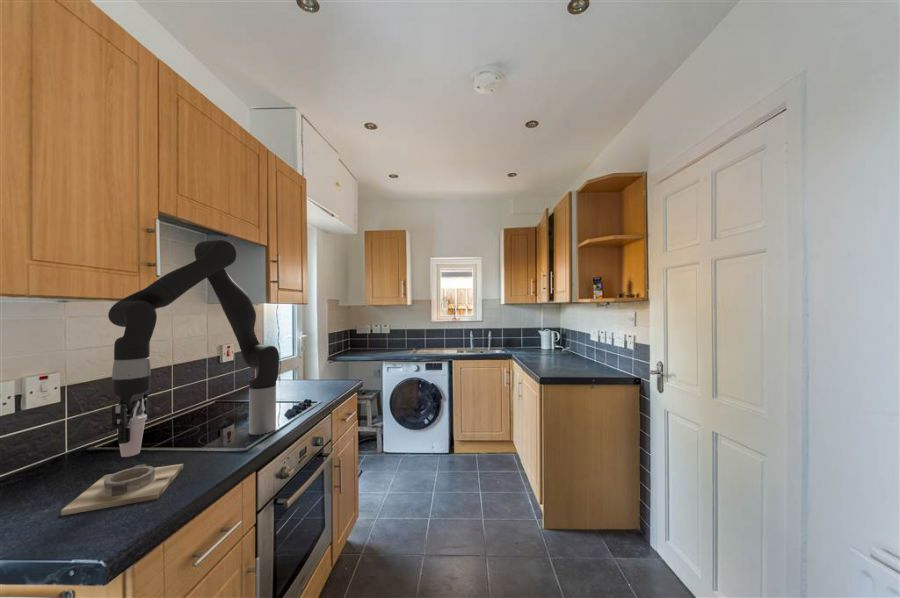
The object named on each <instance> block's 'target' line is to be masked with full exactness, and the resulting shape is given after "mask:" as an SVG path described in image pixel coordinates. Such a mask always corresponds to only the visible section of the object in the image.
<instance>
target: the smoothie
mask: <svg viewBox="0 0 900 598" xmlns="http://www.w3.org/2000/svg"><path fill="white" fill-rule="evenodd" d="M147 419H148V415H146V414H136V415H135V418H134V419H132V420H131V421H132V422H131V426H130V441H129V442H128V443H123V444H119V443H118V445H119V452H120V456H121V457H122V458H127V457H133V456H136V455H138V454H140V453H141V449H142V443H143V442H142V441H143V435H144V430H145V424H146V420H147ZM127 420H128V419H127ZM117 422H118V420H117ZM116 432H117V434H118V429H116Z"/></svg>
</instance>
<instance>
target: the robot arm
mask: <svg viewBox="0 0 900 598" xmlns="http://www.w3.org/2000/svg"><path fill="white" fill-rule="evenodd" d="M193 254H194V258H195V260H194V261H192V262H190V263H187V264H186V265H183V266H181V267H179V268H177V269H174V270H172V271H170V272H168V273H166V274H164V275H163V276H161V277H160V278H158V279H156V280H155V281H154V282H151V284H149V285H148V286H146V287H145V288H143V289H141V290H139V291H136V292H135V293H134V292H133V293H132V294H129V295H128V296H126V297H124V298H122V299H120V300H118V301H117V302H116V303H115V304H113V305H112V306H111V307H110V309H109V310H108V319H109V321H110V322H111V324H113V325H115V326H117V327H121V328H124V332H123V336H121V337H118V338H117V339H116V340H115V341H114V347H113V348H114V349H113V365H112V369H111V370H112V371H111V372H112V375H111V376H112V377H111V381H112V382H111V395H112V396H114V397H119V401H118V404H117V405H116V404H115V405H112V406H111V423H112V424H111V425H112V430H117V429H118V433H117V443H118V445H119V444H123V443H128V442H129V441H130V426H131V422H132V421H131V420H132V419H134V418H135V415H136V414H146V415H147V414H148V411H149V409H148V407H149V395H150V394H149V393H148V392H150V390H151V371H152V370H151V367H152V365H151V359H150V352H151V351H150V348H151V347H150V343H151V340H152V336H153V333H154V330H155V327H156V324H157V317H158V315H157V311H156V309H160V308H165V307H167V306H169V305H171V304H172V303H173V302H175V301H176V300H177V299H179V298H180V297H182V296H183V294H185V293H186V292H188V291H189V290H190V289H192V288H194V287H195V286H196V285H197V284H199V283H200V282H202V281H204V280H205V279H207V280H208V282H209V284H210V285H211V287H212V289H213V292H214V293H215V295H216V297H217V299H218V302H219V304H220V306H221V309H222V310H223V313H224V315H225V316H226V320H228V323H229V325H230V326H231V329H232V331H233V334H234V336H235V338H236V340H237V342H238V346H239V349H240V353H241V354H242V355H241V356H242V357H243V358H242V359H243V361H244V363H245V364H246V366H247V367H249V368H250V369H253V370H254V369H255V370H256V369H257V376H256V377H254V378H251V379H250V380H249V383H248V434H249V435H251V436H262V434H263V435H266V434H265V433H267V434H269V433H268V432H270V433H272V432H271V431H273V430H275V429H276V430H277V380H278V377H279V371H280V370H279V369H280V353H279V350H278V348H277V347H276V346H275V345H271V344H261V343H260V342H259V340H258V338H257V335H256V333H255V325H256V321H257V320H256V319H257V312H256V309H255V307H254V305H253V303H252V300H251V298H250V296H249V295H248V294H247V292H246V291H245V290H244V289H243V288H241V287H240V285H238V283H236V282H235V280H233V279H232V277H231V276H230V275H229V273H228V271H227V268H228V267H229V266H231V265H233V263H235V262H236V260H237V257H238V251H237V247H236V246H235V245H234V243H232V242H230V241H229V240H226V239H214V240H203V241H200V242H198V243H197V244H196V245H195V247H194V253H193ZM147 416H148V415H147ZM127 419H128V420H127ZM117 420H118V422H117ZM276 430H275V431H276ZM273 432H274V431H273Z"/></svg>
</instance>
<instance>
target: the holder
mask: <svg viewBox="0 0 900 598" xmlns="http://www.w3.org/2000/svg"><path fill="white" fill-rule="evenodd" d="M183 469H184V463H179V464H171V465H164V466H157V467H154V466H152V465H147V463H143V464H138V465H137V464H136V465H134V466H133V467H131V468H129V467H128V468H126V469H123V470H120V471H117V472H115V473H111V474H110V473H109V474H104V475H103V476H102V477H101V478H100V479H98V480H97V481H96V482H95V483H93V484H92V485H91V486H90V487H88V488H87V489H86V490H85V491H83V492H82V493H81V494H79V495H78V496H77V497H75V498H74V499H73V500H72V501H70V503H68V504H67V505H66V506H65V507H63V508H62V509H61V510H60V516H67V515H72V514H77V513H78V514H79V513H83V512H90V511H95V510H102V509H107V508H111V507H118V506H125V505H129V504H135V503H141V502H149V501H154V500H158V499H159V498H160V497H161V496H162V495H163V493H164V492H165V491H166V489H167V488H168V487H169V486H170V484H171V483H172V482H173V481H174V480H175V478H176V477H177V476H178V475H179V473H181V471H182V470H183Z"/></svg>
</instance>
